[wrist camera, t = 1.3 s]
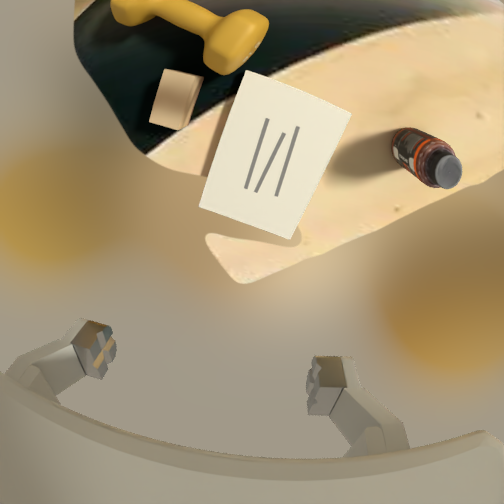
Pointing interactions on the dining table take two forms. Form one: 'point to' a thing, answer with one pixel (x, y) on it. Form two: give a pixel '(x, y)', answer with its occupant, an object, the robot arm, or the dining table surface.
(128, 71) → the dining table surface
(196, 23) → the dumbbell
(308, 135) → the board
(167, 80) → the block
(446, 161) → the supplement bottle
